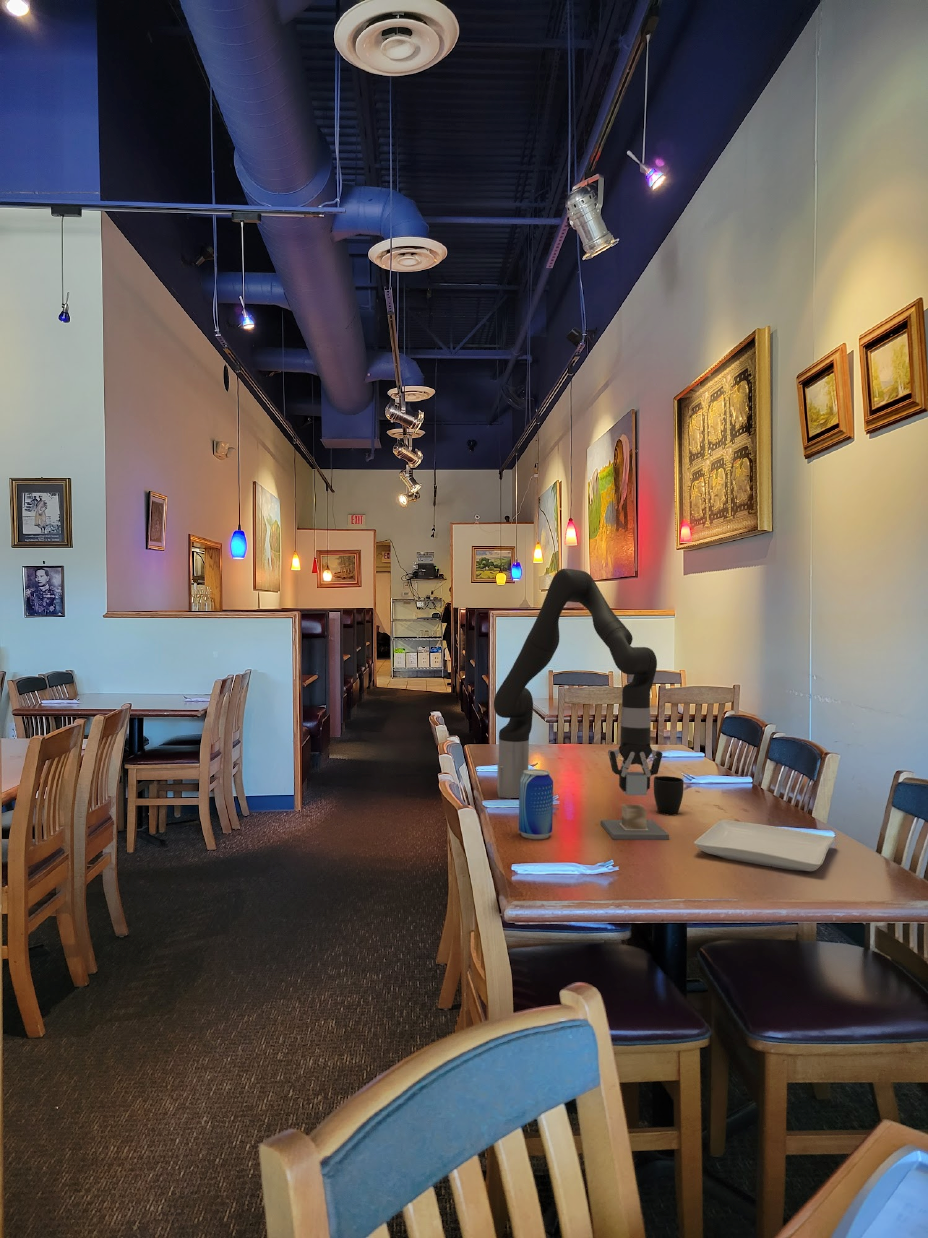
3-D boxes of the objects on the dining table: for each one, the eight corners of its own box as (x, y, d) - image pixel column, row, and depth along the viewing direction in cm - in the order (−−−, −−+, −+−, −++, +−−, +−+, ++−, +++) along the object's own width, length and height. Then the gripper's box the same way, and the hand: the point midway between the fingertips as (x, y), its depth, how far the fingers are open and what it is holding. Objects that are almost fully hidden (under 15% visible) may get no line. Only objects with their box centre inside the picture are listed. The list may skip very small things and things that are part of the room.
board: (613, 839, 190) (613, 834, 190) (600, 824, 204) (600, 819, 204) (669, 839, 191) (669, 834, 191) (652, 824, 205) (652, 819, 205)
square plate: (821, 881, 163) (821, 863, 163) (691, 858, 178) (691, 841, 178) (836, 850, 186) (836, 834, 186) (720, 832, 201) (720, 817, 201)
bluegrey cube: (627, 795, 195) (627, 775, 195) (622, 791, 200) (622, 771, 200) (646, 795, 195) (647, 775, 195) (641, 791, 200) (641, 772, 200)
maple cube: (626, 829, 195) (627, 809, 195) (621, 824, 200) (622, 804, 200) (646, 829, 195) (646, 809, 195) (640, 824, 200) (641, 805, 200)
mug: (669, 805, 227) (669, 773, 227) (688, 815, 215) (688, 781, 215) (643, 806, 225) (643, 773, 225) (660, 816, 214) (661, 782, 214)
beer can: (530, 842, 187) (531, 776, 187) (512, 833, 194) (513, 769, 194) (558, 838, 191) (560, 773, 191) (540, 829, 198) (541, 767, 198)
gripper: (611, 726, 194) (610, 794, 194) (667, 727, 194) (666, 794, 194) (604, 722, 201) (603, 787, 201) (658, 723, 202) (657, 787, 202)
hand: (634, 790), depth 198 cm, fingers closed on bluegrey cube, 5 cm apart
